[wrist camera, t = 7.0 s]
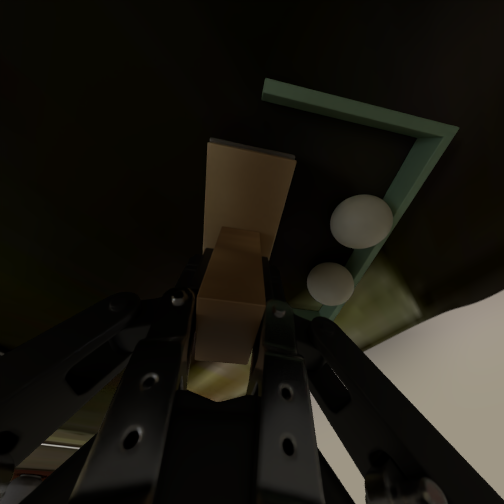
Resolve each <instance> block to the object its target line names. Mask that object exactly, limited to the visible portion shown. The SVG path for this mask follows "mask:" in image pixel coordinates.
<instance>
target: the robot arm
mask: <svg viewBox="0 0 504 504" xmlns="http://www.w3.org/2000/svg"><path fill="white" fill-rule="evenodd" d="M213 250H214V249H213V248H206V249H205V251H204V253H203V255H199V254H195V255H194V256H193V257H191V258H190V259H189V261H188V263H187V265H186V267H185V269H184V271H183V272H182V274H181V276H180V278H179V280H178V282H177V284H176V286H175V288H172V289H170V290H168V291H167V292H165V293H164V295H163V296H162V297H160V298H156V299H149V300H141V301H140V298H139V296H138V295H136V294H135V293H131V292H121V293H117V294H114V295H111V296H109V297H107V298H105V299H103V300H102V301H100V302H98V303H96V304H94V305H93V306H91V307H89V308H87V309H85V310H84V311H82V312H80V313H78V314H76V315H74V316H73V317H71V318H69V319H67V320H65V321H64V322H62V323H60V324H58V325H56V326H55V327H53V328H51V329H49V330H47V331H45V332H44V333H42V334H40V335H38V336H36V337H35V338H33V339H31V340H29V341H27V342H26V343H24V344H22V345H20V346H18V347H16V348H15V349H13V350H11V351H9V352H8V351H6V350H4V349H2V348H0V501H1V500H2V498H3V497H4V494H5V492H6V489H7V487H8V486H9V484H10V481H11V479H12V477H13V473H14V468H15V467H16V466H18V465H19V464H20V463H21V462H22V461H23V460H24V459H25V458H26V457H27V456H29V455H30V454H31V453H32V452H33V451H34V450H35V449H36V448H37V447H38V446H40V445H41V444H42V443H43V442H44V441H45V440H46V439H47V438H48V437H49V436H50V435H52V434H53V433H54V432H55V431H56V430H57V429H58V428H59V427H60V426H61V425H63V424H64V423H65V422H66V421H67V420H68V419H69V418H70V417H71V416H72V415H74V414H75V413H76V412H77V411H78V410H79V409H80V408H81V407H82V406H83V405H85V404H86V403H87V402H88V401H89V400H90V399H91V398H92V397H93V396H94V395H96V394H97V393H98V392H99V391H100V390H101V389H102V388H103V387H104V386H105V385H107V384H108V383H109V382H110V381H111V380H112V379H113V378H114V377H115V376H116V375H118V374H119V373H120V372H121V371H122V370H123V369H124V368H125V367H126V366H127V367H126V369H125V371H124V374H123V376H122V378H121V381H120V383H119V385H118V387H117V390H116V392H115V394H114V397H113V399H112V401H111V404H110V406H109V408H108V411H107V413H106V415H105V418H104V420H103V422H102V424H101V427H100V429H99V431H98V433H97V434H95V435H94V436H93V437H92V438H91V439H90V440H89V441H88V442H86V443H85V444H84V445H83V446H82V447H81V448H80V449H79V450H78V451H76V452H75V453H74V454H73V455H72V456H71V457H70V458H69V459H68V460H66V461H65V462H64V463H63V464H62V465H61V466H60V467H59V468H57V469H56V470H55V471H54V472H53V473H52V474H51V475H50V476H49V477H47V478H46V479H45V480H44V481H43V482H42V483H41V484H40V485H39V486H37V487H36V488H35V489H34V490H33V491H32V492H31V493H30V494H28V495H27V496H26V497H25V498H24V499H23V500H22V501H21V502H20V503H18V504H355V503H354V501H353V500H352V498H351V497H350V495H349V494H348V492H347V491H346V489H345V488H344V486H343V485H342V483H341V482H340V480H339V479H338V477H337V476H336V474H335V473H334V471H333V470H332V468H331V467H330V465H329V464H328V462H327V461H326V459H325V458H324V457H323V455H322V453H321V452H320V451H319V449H318V447H317V443H316V435H315V428H314V420H313V413H312V406H311V399H310V392H311V393H312V395H313V397H314V398H315V400H316V401H317V403H318V405H319V406H320V408H321V410H322V411H323V413H324V414H325V416H326V418H327V419H328V421H329V422H330V424H331V426H332V427H333V429H334V430H335V432H336V434H337V435H338V437H339V438H340V440H341V442H342V443H343V445H344V447H345V448H346V450H347V451H348V453H349V455H350V456H351V458H352V459H353V461H354V463H355V464H356V466H357V467H358V469H359V471H360V472H361V474H362V476H363V477H364V479H365V492H366V496H365V498H366V499H365V500H366V504H504V500H503V499H502V498H501V497H500V496H499V495H498V494H497V493H496V491H494V489H493V488H492V487H491V486H490V485H489V484H488V483H487V482H486V481H485V480H484V479H483V478H482V477H481V476H480V475H479V474H478V473H477V472H476V471H475V469H474V468H473V467H472V466H471V465H470V464H469V463H468V462H467V461H466V460H465V459H464V458H463V457H462V456H461V455H460V454H459V453H458V452H457V451H456V450H455V448H454V447H453V446H452V445H451V444H450V443H449V442H448V441H447V440H446V439H445V438H444V437H443V436H442V435H441V434H440V433H439V432H438V431H437V430H436V428H435V427H434V426H433V425H432V424H431V423H430V422H429V421H428V420H427V419H426V418H425V417H424V416H423V415H422V414H421V413H420V412H419V411H418V410H417V408H416V407H415V406H414V405H413V404H412V403H411V402H410V401H409V400H408V399H407V398H406V397H405V396H404V395H403V394H402V393H401V392H400V391H399V390H398V389H397V388H396V386H395V385H394V384H393V383H392V382H391V381H390V380H389V379H388V378H387V377H386V376H385V375H384V374H383V373H382V372H381V371H380V370H379V369H378V367H377V366H375V364H374V363H373V362H372V361H371V360H370V359H369V358H368V357H367V356H366V355H365V354H364V353H363V352H362V351H361V350H360V349H359V348H358V346H357V345H356V344H355V343H354V342H353V341H352V340H351V339H350V338H349V337H348V336H347V335H346V334H345V333H344V332H343V331H342V330H341V329H340V328H339V326H338V325H337V324H336V323H334V322H333V321H332V320H330V319H328V318H326V317H322V316H317V317H315V318H313V319H312V321H310V320H307V319H305V318H302V317H300V316H298V315H296V314H295V313H293V310H292V308H291V306H290V305H289V304H288V303H286V300H285V296H284V291H283V286H282V284H281V283H282V282H281V279H280V273H279V271H278V269H277V268H276V267H275V266H272V265H269V261H268V257H265V256H262V267H263V278H264V288H265V299H266V308H265V311H264V314H263V317H262V320H261V323H260V327H259V330H258V333H257V336H256V339H255V342H254V345H253V350H252V359H251V367H250V376H249V382H248V387H247V392H246V395H245V396H242V397H238V398H234V399H230V400H226V401H222V402H215V401H212V400H210V399H208V398H205V397H203V396H201V395H198V394H196V393H193V392H191V391H189V390H187V382H188V373H189V367H190V360H191V354H192V348H193V341H194V334H195V330H196V300H197V295H198V292H199V289H200V286H201V284H202V281H203V278H204V275H205V272H206V269H207V267H208V264H209V261H210V258H211V255H212V252H213ZM328 364H329V365H330V366H329V365H328ZM331 368H332V369H333V370H332V369H331ZM334 372H335V373H336V374H335V373H334ZM337 376H338V377H339V378H338V377H337ZM340 380H341V381H342V382H341V381H340ZM344 385H345V386H346V387H345V386H344ZM347 389H348V390H347ZM309 390H310V391H309Z"/></svg>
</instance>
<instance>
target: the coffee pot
mask: <svg viewBox="0 0 504 504" xmlns="http://www.w3.org/2000/svg"><path fill="white" fill-rule="evenodd" d="M41 478H42V477H41V476H36V475H20V477H18V478H16V479H14V480H13V481H11V482H10V484H9V486H8V487H7V489H6V492H5V494H4V497H3V498H2V500H1V502H0V504H18V503H20V502H21V501H22V500H23V499H24V498H25V497H26V496H27V495H28V494H30V493H31V492H32V491H33V490H34V489H35V488H36V487H37V486H39V485H40V484H41V483H42V480H41Z"/></svg>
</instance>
